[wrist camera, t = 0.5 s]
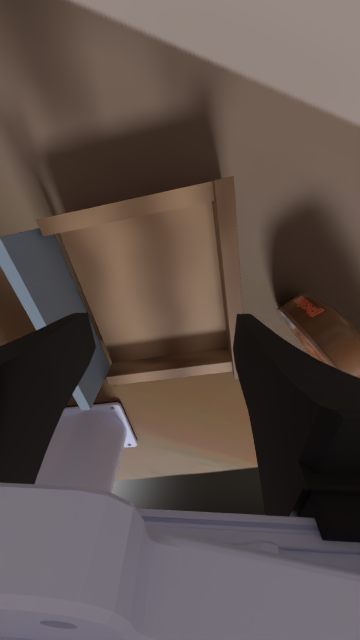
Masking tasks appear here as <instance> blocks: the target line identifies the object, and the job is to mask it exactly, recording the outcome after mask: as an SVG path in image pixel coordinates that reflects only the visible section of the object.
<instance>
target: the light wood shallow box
mask: <svg viewBox="0 0 360 640" xmlns="http://www.w3.org/2000/svg"><path fill="white" fill-rule="evenodd" d="M36 221H37V224H38V226H39V228H40V230H41V233H42V235H43V236H48V235H53V234H58V233H59V234H60V236H61V239H62V241H63V244H64V246H65V248H66V251H67V253H68V256H69V258H70V261H71V263H72V265H73V268H74V270H75V273H76V275H77V278H78V280H79V283H80V285H81V287H82V290H83V292H84V295H85V297H86V300H87V302H88V304H89V307H90V309H91V312H92V314H93V317H94V319H95V321H96V324H97V326H98V329H99V331H100V334H101V336H102V338H103V341H104V343H105V346H106V348H107V351H108V353H109V356H110V358H111V360H112V365H111V367H110V369H109V371H108V374H107V376H106V379H107V381H108V383H109V386H110V385H119V384H128V383H136V382H145V381H153V380H162V379H170V378H179V377H187V376H196V375H204V374H213V373H221V372H230V371H233V374H234V379H239V377H238V374H237V371H236V367H235V361H234V354H233V343H234V335H235V326H236V317H237V314H243V307H242V293H241V278H240V264H239V249H238V234H237V220H236V205H235V191H234V176H231V177H226V178H222V179H217V180H214V181H211V182H206V183H202V184H197V185H193V186H188V187H183V188H179V189H174V190H170V191H165V192H161V193H156V194H151V195H147V196H142V197H138V198H133V199H129V200H124V201H120V202H115V203H110V204H106V205H101V206H97V207H92V208H88V209H83V210H78V211H74V212H69V213H65V214H60V215H56V216H51V217H47V218H42V219H37V220H36Z"/></svg>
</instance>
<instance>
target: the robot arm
mask: <svg viewBox="0 0 360 640" xmlns="http://www.w3.org/2000/svg"><path fill="white" fill-rule="evenodd" d="M95 348H96V345H95V340H94V336H93V332H92V328H91V324H90V320H89V316H88V313H73V314H70V315H68V316H65V317H63V318H61V319H59V320H57V321H55V322H53V323H51V324H49V325H47V326H45V327H43V328H40V329H38V330H36V331H34V332H32V333H30V334H28V335H25V336H23V337H21V338H19V339H16V340H14V341H12V342H10V343H7V344H5V345H2V346H0V640H360V378H358V377H356V376H353V375H351V374H348V373H346V372H343V371H341V370H339V369H337V368H335V367H332V366H330V365H328V364H326V363H324V362H322V361H320V360H318V359H316V358H314V357H312V356H310V355H309V354H307V353H305V352H303V351H301V350H300V349H298V348H296V347H295V346H293V345H292V344H290V343H289V342H287V341H286V340H284V339H283V338H281V337H280V336H278V335H277V334H276V333H274V332H273V331H272V330H270V329H269V328H268V327H267V326H265V325H264V324H263V323H261V322H260V321H259V320H258V319H256V318H255V317H254V316H252V315H251V314H237V317H236V326H235V335H234V343H233V354H234V361H235V367H236V371H237V374H238V377H239V381H240V384H241V388H242V391H243V394H244V398H245V401H246V405H247V408H248V412H249V416H250V422H251V427H252V433H253V438H254V444H255V450H256V456H257V463H258V469H259V476H260V483H261V489H262V497H263V504H264V512H265V515H248V514H229V513H228V514H227V513H210V512H192V511H171V510H154V509H153V510H152V509H135V508H134V506H133V505H132V504H131V502H129V501H127V500H125V499H123V498H121V497H119V496H116V495H115V494H112V489H113V485H114V482H115V478H116V475H117V471H118V467H119V463H120V459H121V456H122V452H123V448H124V447H135V446H137V440H136V438H135V435H134V433H133V431H132V429H131V426H130V424H129V422H128V419H127V417H126V415H125V412H124V410H123V408H122V406H121V404H120V403H118V402H115V403H105V404H96V405H93V406H92V408H91V409H90V410H81V409H80V407H79V406H77V407H68V408H65V407H66V405H67V403H68V401H69V399H70V397H71V396H72V394H73V392H74V391H75V389H76V387H77V385H78V384H79V382H80V380H81V378H82V377H83V375H84V373H85V371H86V370H87V368H88V366H89V364H90V362H91V359H92V357H93V354H94V351H95Z"/></svg>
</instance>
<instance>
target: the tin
mask: <svg viewBox="0 0 360 640" xmlns="http://www.w3.org/2000/svg"><path fill="white" fill-rule="evenodd" d="M277 310H278V313H279V314H280V316H281V317H282V319H283V320H284V321H285V322H286V324H287V325H288V327H289V328H290V329H291V330H292V332H293V333H294V334H295V336H296V337H297V338H298V339H299V341H300V342H301V343H302V345H303V346H304V347H305V349H306V350H307V351H308V352H309V354H310V355H311V356H312V357H314V358H316V359H318V360H320V361H322V362H324V363H326V364H328V365H330V366H332V367H335V368H337V369H339V370H341V371H343V372H346V373H348V374H351V375H353V376H356V377H358V378H360V333H359V332H358V331H357V330H356V329H355V328H354V327H353V326H352V324H350V323H349V322H348V321H347V320H346V319H345V318H344V317H343V316H342V315H341V314H339V313H338V312H337V311H336V310H334V309H333V308H331V307H329V306H327V305H325V304H323V303H322V302H320V301H319V300H317V299H316V298H314V297H313V296H311V295H310V294H309V293H308V292H303V293H301V294H299V295H298V296H296V297H294V298H293V299H292V300H290V301H289V302H287V303H286V304H285V305H283V306H282V307H278V308H277Z"/></svg>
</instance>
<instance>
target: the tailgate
mask: <svg viewBox="0 0 360 640" xmlns="http://www.w3.org/2000/svg"><path fill="white" fill-rule="evenodd" d="M0 266H1V268H2V270H3V271H4V273H5V275H6V277H7V279H8V280H9V282H10V284H11V286H12V287H13V289H14V291H15V293H16V295H17V296H18V298H19V300H20V302H21V304H22V305H23V307H24V309H25V311H26V313H27V314H28V316H29V318H30V320H31V321H32V323H33V325H34V327H35V329H36V330H38V329H40V328H43V327H45V326H47V325H49V324H51V323H53V322H55V321H57V320H59V319H61V318H63V317H65V316H68V315H70V314H73V313H87V311H86V309H85V306H84V304H83V301H82V299H81V297H80V294H79V292H78V290H77V287H76V285H75V282H74V280H73V278H72V275H71V273H70V271H69V268H68V266H67V263H66V261H65V259H64V256H63V254H62V252H61V249H60V247H59V244H58V242H57V240H56V237H55V235H54V234H53V235H48V236H43V235H42V233H41V230H40V228H38V229H33V230H29V231H25V232H20V233H16V234H11V235H7V236H2V237H0ZM89 320H90V318H89ZM90 324H91V328H92V332H93V336H94V340H95V345H96V348H95V351H94V354H93V357H92V359H91V362H90V364H89V366H88V368H87V370H86V371H85V373H84V375H83V377H82V378H81V380H80V382H79V384H78V385H77V387H76V389H75V391H74V392H73V394H72V395H73V397H74V398H75V400H76V402H77V404H78V406H79V407H80V409H81V410H90V409H91V408H92V406H93V403H94V401H95V399H96V397H97V395H98V393H99V390H100V388H101V386H102V384H103V382H104V380H105V378H106V375H107V373H108V371H109V369H110V365H109V363H108V361H107V358H106V356H105V354H104V351H103V349H102V346H101V344H100V342H99V339H98V337H97V335H96V332H95V330H94V327H93V325H92V323H91V320H90Z"/></svg>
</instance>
